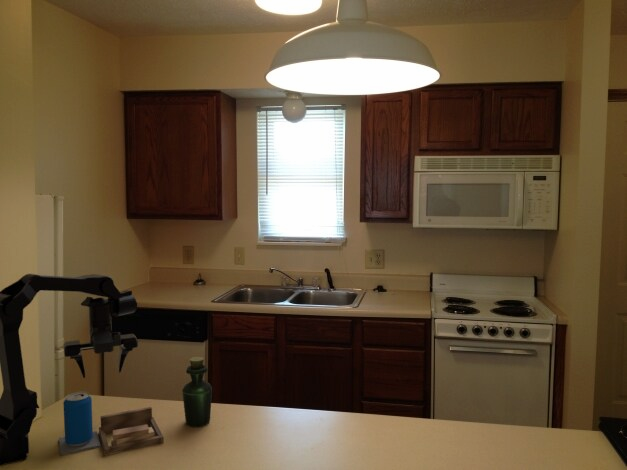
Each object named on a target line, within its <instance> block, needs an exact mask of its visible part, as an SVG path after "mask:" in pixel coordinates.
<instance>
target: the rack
mask: <svg viewBox="0 0 627 470" xmlns="http://www.w3.org/2000/svg"><path fill="white" fill-rule="evenodd" d="M141 425H148V426H149V425H150V427H152V429H153V430H154V434H155V437H151V438H146V439H142V440H137V441H132V442H128V443H123V444H118V445H114V446H111V445H110V446H109V443H108V440H107V435H106V434H109V433H113V430H118V429H124V428H129V427H135V426H141ZM98 436H99V439H100V441H101V442H100V443H101V446H102V450H103V453H104V456H110V455H112V454H117V453H120V452H125V451H130V450H136V449H139V448H140V449H141V448H144V447H147V446H148V447H149V446H153V445H158V444H164V443H165V438H164V435H163V433H162V431H161V429H160V427H159V426H158V424H157V421H156V420H155V418H154V417H153V409H152V406H148V407H142V408H138V409H137V408H136V409H132V410H127V411H121V412H116V413H115V412H114V413H111V414H105V415H100V426H99V427H98Z"/></svg>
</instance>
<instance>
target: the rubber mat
mask: <svg viewBox="0 0 627 470" xmlns="http://www.w3.org/2000/svg"><path fill="white" fill-rule="evenodd" d="M58 441H59V451H60V456H64V455H68V454H74V453H78V452H79V453H80V452H83V451H87V450H93V449H98V448H101V446H102V445H101V442H100V441H101V440H100V437H99V433H98V431H97V430H93V438H92V439H91V440H90V441H89V442H88V443H86V444H84V445H81V446H70V445H69V444H66V443H65V436H63V437H59V438H58Z"/></svg>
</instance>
